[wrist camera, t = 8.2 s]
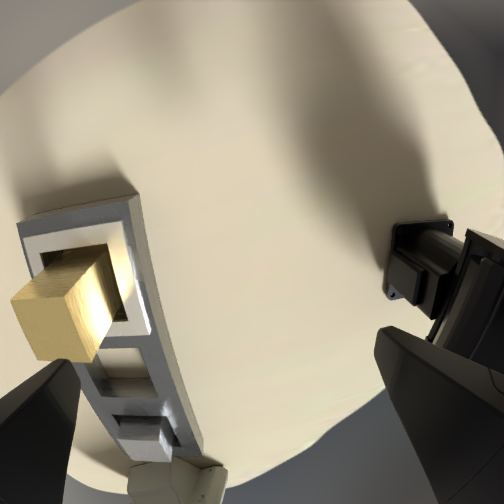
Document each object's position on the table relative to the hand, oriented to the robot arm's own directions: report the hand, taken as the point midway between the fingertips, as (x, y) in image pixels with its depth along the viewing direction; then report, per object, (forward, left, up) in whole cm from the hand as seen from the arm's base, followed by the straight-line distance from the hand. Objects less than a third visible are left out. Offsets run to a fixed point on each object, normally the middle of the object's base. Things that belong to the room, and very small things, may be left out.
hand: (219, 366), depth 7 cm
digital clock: (+11, +33, -13) cm, 37 cm away
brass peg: (+9, +2, -13) cm, 16 cm away
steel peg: (+10, +18, -13) cm, 24 cm away
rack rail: (+10, +10, -13) cm, 19 cm away
